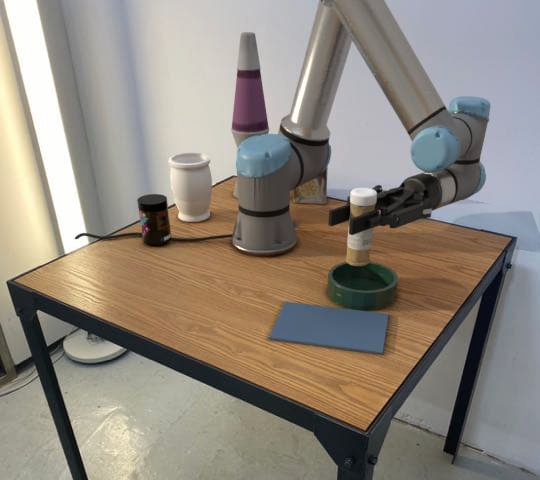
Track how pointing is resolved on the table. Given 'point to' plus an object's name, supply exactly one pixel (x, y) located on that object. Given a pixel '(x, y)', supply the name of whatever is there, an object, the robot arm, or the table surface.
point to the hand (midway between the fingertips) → (340, 222)
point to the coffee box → (312, 190)
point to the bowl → (362, 286)
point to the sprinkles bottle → (361, 242)
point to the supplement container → (154, 219)
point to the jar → (191, 185)
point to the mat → (331, 327)
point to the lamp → (248, 95)
